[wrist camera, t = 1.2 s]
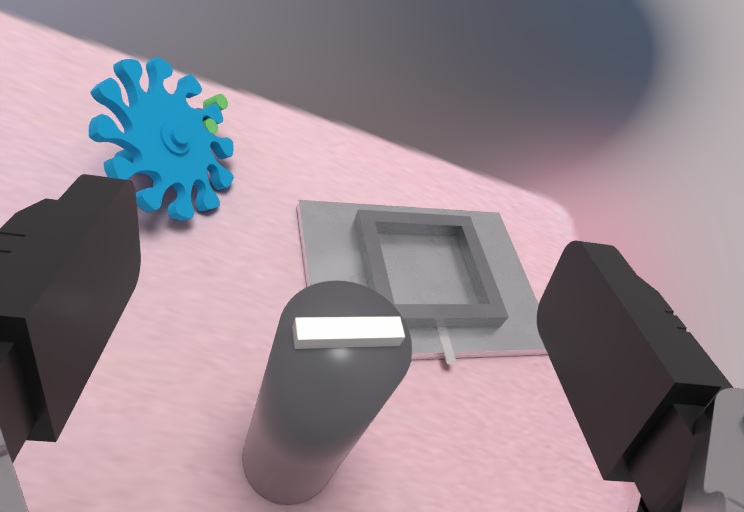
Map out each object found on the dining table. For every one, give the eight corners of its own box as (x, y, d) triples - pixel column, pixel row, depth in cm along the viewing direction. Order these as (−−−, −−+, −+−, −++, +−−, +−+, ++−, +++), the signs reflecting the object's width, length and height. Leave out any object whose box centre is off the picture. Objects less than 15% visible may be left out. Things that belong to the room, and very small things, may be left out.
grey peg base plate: (318, 376, 30) (326, 359, 28) (296, 207, 37) (301, 187, 36) (555, 365, 35) (572, 350, 33) (494, 219, 42) (506, 202, 41)
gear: (172, 247, 30) (63, 79, 26) (110, 262, 33) (4, 113, 29) (269, 168, 39) (199, 31, 35) (213, 185, 42) (142, 61, 38)
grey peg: (244, 510, 24) (286, 398, 15) (241, 414, 27) (275, 269, 18) (340, 498, 26) (433, 390, 17) (327, 408, 29) (401, 271, 19)
